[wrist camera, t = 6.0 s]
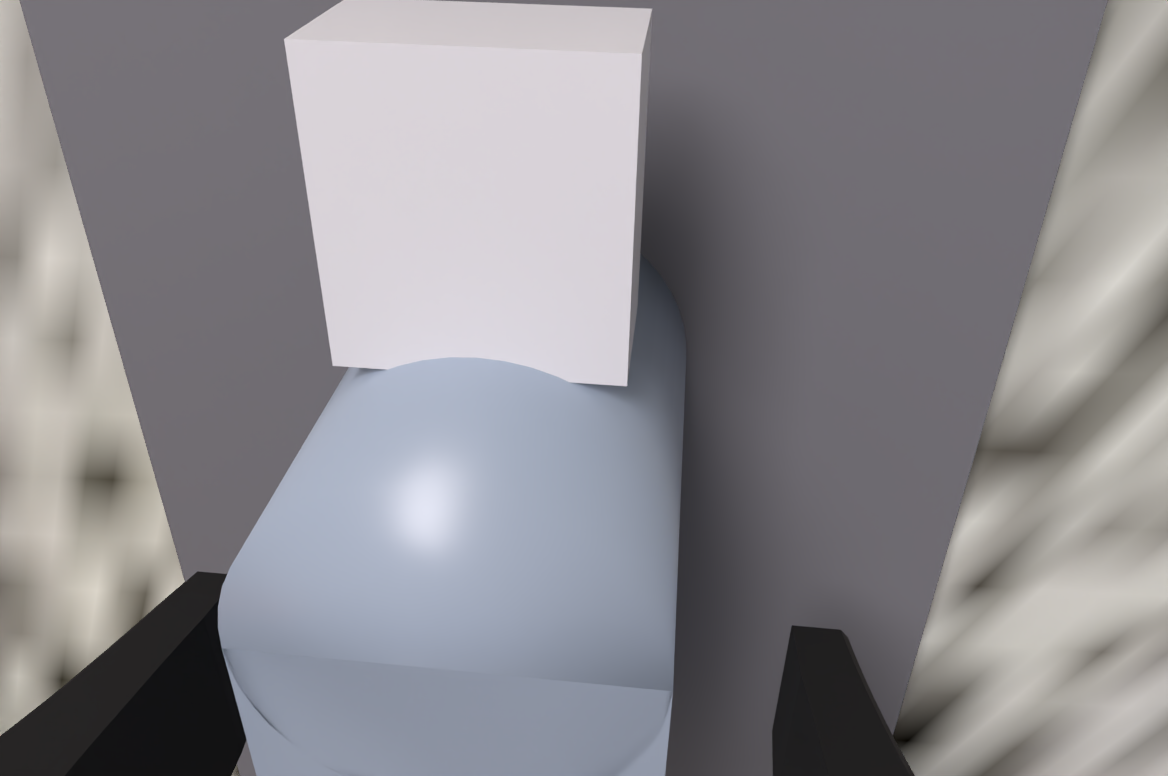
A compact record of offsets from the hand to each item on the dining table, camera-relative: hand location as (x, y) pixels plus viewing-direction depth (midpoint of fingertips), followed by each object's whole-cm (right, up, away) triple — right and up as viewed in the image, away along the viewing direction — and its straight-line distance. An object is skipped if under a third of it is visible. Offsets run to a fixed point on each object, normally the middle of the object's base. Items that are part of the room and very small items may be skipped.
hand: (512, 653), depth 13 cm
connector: (0, +3, +1) cm, 3 cm away
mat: (0, +2, +2) cm, 3 cm away
